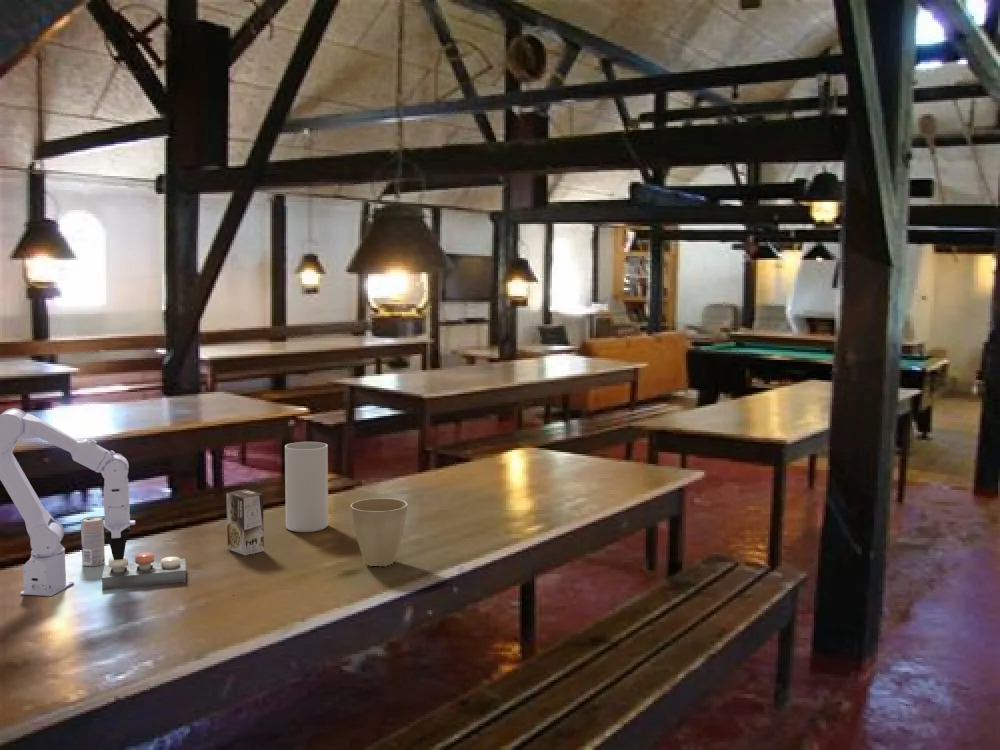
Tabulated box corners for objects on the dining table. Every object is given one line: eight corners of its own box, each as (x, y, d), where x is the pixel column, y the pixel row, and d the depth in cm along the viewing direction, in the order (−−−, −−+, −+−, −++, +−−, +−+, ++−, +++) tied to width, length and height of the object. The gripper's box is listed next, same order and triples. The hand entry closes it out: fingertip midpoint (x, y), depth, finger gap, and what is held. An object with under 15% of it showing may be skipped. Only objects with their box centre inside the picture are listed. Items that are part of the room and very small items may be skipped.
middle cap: (135, 574, 225) (134, 558, 225) (135, 569, 229) (135, 553, 229) (154, 573, 227) (153, 557, 226) (154, 567, 231) (154, 551, 230)
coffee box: (265, 551, 253) (264, 493, 251) (244, 556, 248) (243, 497, 246) (247, 544, 259) (246, 488, 257) (226, 549, 254) (225, 492, 252)
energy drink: (98, 559, 243) (97, 515, 242) (108, 563, 240) (107, 518, 239) (78, 564, 239) (76, 519, 238) (88, 568, 236) (87, 522, 235)
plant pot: (415, 557, 249) (415, 500, 247) (394, 574, 235) (394, 513, 233) (364, 552, 253) (364, 495, 251) (341, 568, 239) (340, 508, 237)
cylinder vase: (333, 522, 283) (332, 442, 280) (321, 533, 270) (320, 450, 267) (293, 521, 284) (292, 441, 281) (280, 532, 271) (279, 448, 269)
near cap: (108, 578, 223) (108, 562, 223) (109, 573, 227) (109, 557, 227) (128, 576, 225) (127, 560, 224) (128, 571, 229) (128, 555, 228)
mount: (102, 589, 220) (101, 577, 220) (105, 576, 230) (104, 565, 229) (185, 582, 227) (185, 570, 226) (185, 569, 236) (185, 558, 236)
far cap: (161, 578, 227) (161, 562, 227) (161, 573, 231) (161, 557, 231) (180, 577, 229) (179, 561, 228) (180, 571, 233) (179, 556, 232)
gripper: (133, 510, 218) (135, 566, 220) (135, 496, 232) (137, 549, 234) (101, 513, 216) (103, 569, 218) (105, 498, 230) (107, 551, 231)
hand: (118, 559), depth 225 cm, fingers closed, pressing on near cap
